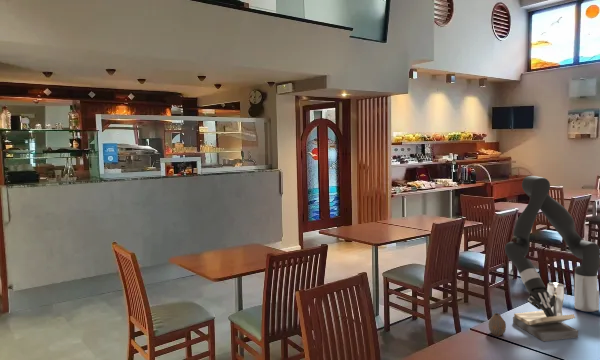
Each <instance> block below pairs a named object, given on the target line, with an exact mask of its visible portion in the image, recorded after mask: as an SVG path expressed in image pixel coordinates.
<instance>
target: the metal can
mask: <svg viewBox="0 0 600 360" xmlns="http://www.w3.org/2000/svg"><path fill="white" fill-rule="evenodd" d="M546 287H547V288H546V291H547V292H548V293H549V294H550V295H552V296H553V295H555V296H556V297H555V302H554V306H553V307H552V308H551V310H552V312H553V314H554V316H562V315H564V314H563V304H564V300H565V299H564V298H565V288H564V284H562V283H559V282H548V283H547V286H546ZM548 300H549V297H548ZM549 301H550V300H549Z"/></svg>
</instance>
